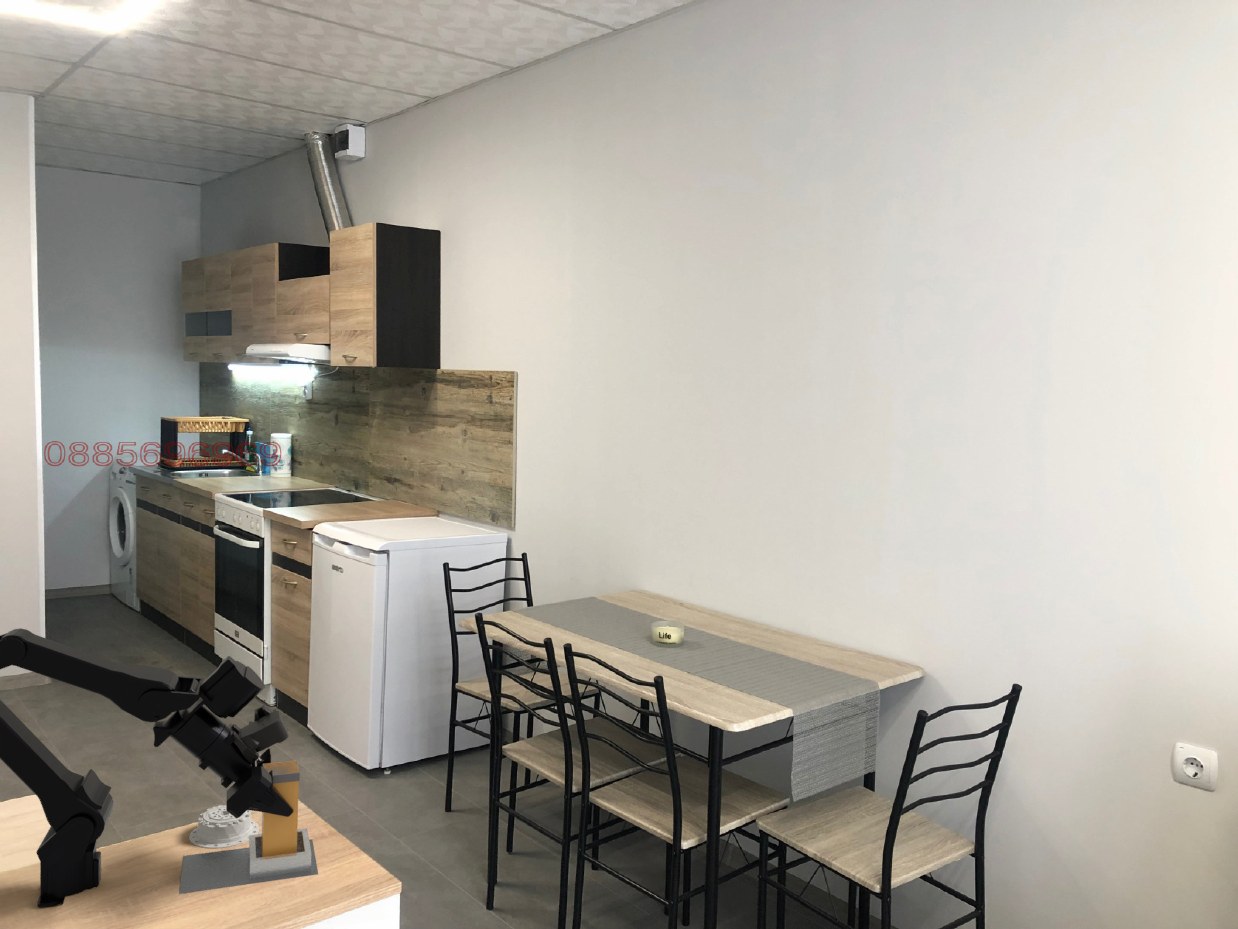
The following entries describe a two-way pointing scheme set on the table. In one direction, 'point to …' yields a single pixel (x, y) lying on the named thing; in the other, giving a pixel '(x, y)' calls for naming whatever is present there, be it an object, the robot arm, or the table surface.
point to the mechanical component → (222, 829)
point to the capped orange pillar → (277, 828)
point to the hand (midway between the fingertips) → (290, 806)
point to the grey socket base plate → (246, 865)
